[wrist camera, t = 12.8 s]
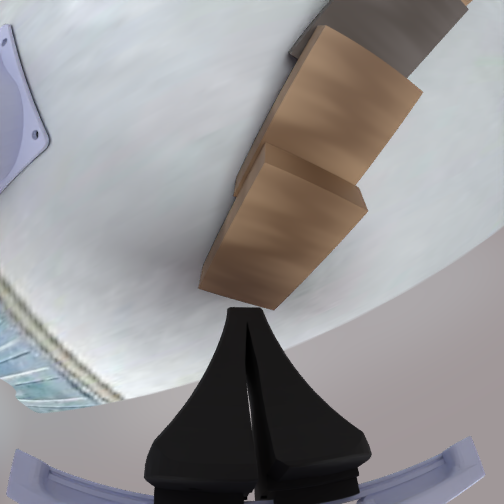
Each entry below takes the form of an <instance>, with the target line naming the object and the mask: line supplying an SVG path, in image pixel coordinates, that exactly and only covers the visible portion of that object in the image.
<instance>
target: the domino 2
mask: <svg viewBox="0 0 504 504" xmlns="http://www.w3.org/2000/svg"><path fill="white" fill-rule="evenodd" d="M367 212H368V209H367V207H366V204H365V202H364V199H363V197H362V194H361V192H360V189H359V187H357V186H355V185H353V184H351V183H349V182H348V181H346V180H344V179H342V178H340V177H338V176H336V175H334V174H332V173H330V172H328V171H326V170H324V169H322V168H320V167H318V166H316V165H314V164H312V163H310V162H308V161H306V160H304V159H302V158H300V157H298V156H295V155H293V154H291V153H289V152H287V151H284V150H282V149H280V148H278V147H275V146H273V145H271V144H269V143H266V142H265V144H264V146H263V148H262V150H261V152H260V154H259V155H258V157H257V159H256V161H255V163H254V165H253V167H252V169H251V171H250V172H249V174H248V176H247V178H246V180H245V182H244V184H243V186H242V188H241V190H240V192H239V194H238V196H237V198H236V199H235V201H234V203H233V205H232V207H231V209H230V211H229V213H228V215H227V217H226V219H225V221H224V223H223V225H222V227H221V229H220V231H219V233H218V235H217V237H216V240H215V242H214V244H213V246H212V248H211V250H210V252H209V254H208V256H207V258H206V260H205V262H204V264H203V268H202V273H201V277H200V282H199V287H198V289H201V290H205V291H208V292H211V293H214V294H218V295H221V296H225V297H228V298H231V299H235V300H238V301H242V302H245V303H249V304H252V305H256V306H260V307H263V308H267V309H271V310H275V309H276V308H277V307H278V306H279V305H280V304H281V303H282V302H283V301H284V300H285V299H286V298H287V297H288V296H289V295H290V294H291V293H292V292H293V291H294V290H295V289H296V288H297V287H298V286H299V285H300V284H301V283H302V282H303V281H304V280H305V279H306V278H307V277H308V276H309V275H310V274H311V273H312V271H313V270H314V269H315V268H316V267H317V266H318V265H319V264H320V263H321V262H322V261H323V260H324V259H325V258H326V257H327V256H328V255H329V254H330V253H331V252H332V250H333V249H334V248H335V247H336V246H337V245H338V244H339V243H340V242H341V241H342V240H343V239H344V238H345V236H346V235H347V234H348V233H349V232H350V231H351V230H352V229H353V228H354V227H355V225H356V224H357V223H358V222H359V221H360V220H361V219H362V218H363V216H364V215H365V214H366V213H367Z"/></svg>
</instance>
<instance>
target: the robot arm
mask: <svg viewBox="0 0 504 504" xmlns="http://www.w3.org/2000/svg"><path fill="white" fill-rule="evenodd" d="M6 41H7V43H6ZM36 131H38V133H39V136H38V138H37V136H36ZM48 144H49V138H48V135H47V133H46V131H45V128H44V126H43V124H42V121H41V119H40V117H39V114H38V112H37V109H36V107H35V104H34V101H33V99H32V96H31V93H30V91H29V88H28V85H27V82H26V79H25V76H24V73H23V70H22V67H21V63H20V60H19V57H18V53H17V49H16V46H15V42H14V38H13V34H12V29H11V26H10V25H9V24H4V25H3V26H2V27H1V28H0V193H1V192H2V191H3V190H4V189H5V188H6V187H7V185H8V184H9V183H10V182H11V181H12V180H13V179H14V178H15V177H16V176H17V175H18V174H19V173H20V172H21V171H22V170H23V169H24V168H25V167H26V166H27V165H28V164H29V163H31V162H32V161H33V160H34V159H35V158H36V157H37V156H38V155H39V154H40V153H41V152H43V151H44V150H45V149H46V148H47V146H48ZM246 383H247V384H246ZM247 389H248V394H247ZM248 395H249V401H250V409H251V420H252V428H251V421H250V412H249V403H248ZM371 455H372V454H371V451H370V447H369V444H368V442H367V440H366V438H365V435H364V433H363V432H362V431H361V430H359V429H358V428H356V427H355V426H353V425H352V424H351V423H349V422H348V421H347V420H345V419H344V418H343V417H342V416H340V415H339V414H338V413H337V412H336V411H335V410H333V409H332V408H331V407H330V406H329V405H328V404H327V403H326V402H325V401H324V400H323V399H322V398H321V397H320V396H319V395H317V393H315V391H313V389H312V388H311V387H310V386H309V385H308V384H307V382H306V381H305V380H304V379H303V377H301V375H300V374H299V373H298V371H297V370H296V369H295V367H294V366H293V364H292V363H291V362H290V360H289V359H288V357H287V356H286V354H285V353H284V351H283V349H282V348H281V346H280V344H279V343H278V341H277V339H276V338H275V336H274V334H273V332H272V330H271V328H270V326H269V324H268V322H267V320H266V317H265V315H264V312H263V310H262V309H261V308H247V307H230V308H228V309H227V317H226V322H225V326H224V329H223V332H222V335H221V338H220V341H219V343H218V346H217V348H216V351H215V353H214V355H213V357H212V359H211V362H210V364H209V366H208V368H207V370H206V371H205V373H204V375H203V377H202V379H201V380H200V382H199V384H198V385H197V387H196V389H195V390H194V392H193V393H192V395H191V396H190V398H189V399H188V401H187V402H186V403H185V405H184V406H183V408H182V409H181V410H180V411H179V413H178V414H177V415H176V416H175V418H174V419H173V420H172V421H171V423H170V424H169V425H168V426H167V427H166V428H165V429H164V430H163V431H162V433H161V434H160V435H159V436H158V437H157V438H156V439H155V440H154V442H153V444H152V446H151V448H150V451H149V453H148V456H147V459H146V463H145V472H144V478H145V480H146V481H147V482H149V483H150V484H151V485H153V486H154V487H155V490H154V496H152V495H146V494H141V493H136V492H131V491H126V490H122V489H118V488H114V487H109V486H106V485H102V484H99V483H95V482H92V481H89V480H86V479H83V478H80V477H77V476H74V475H71V474H68V473H65V472H63V471H60V470H57V469H55V468H53V467H50V466H49V465H48V464H46V463H45V462H43V461H41V460H40V459H38V458H36V457H34V456H31V455H29V454H27V453H25V452H23V451H21V450H19V449H16V451H15V455H14V459H13V463H12V467H11V472H10V477H9V482H8V487H7V493H6V494H7V496H8V497H9V498H11V499H12V500H14V501H16V502H17V503H19V504H342V503H346V502H350V501H353V500H357V499H359V500H358V501H357V504H446V503H448V502H449V501H451V500H452V499H453V498H455V497H456V496H458V495H459V494H460V493H462V492H463V491H465V490H466V489H468V488H469V487H470V486H472V485H473V484H475V483H476V482H477V481H479V480H480V479H481V478H483V477H484V476H485V472H484V469H483V466H482V464H481V461H480V458H479V455H478V453H477V450H476V448H475V445H474V443H473V440H472V438H471V436H468V437H466V438H465V439H463V440H461V441H459V442H457V443H456V444H454V445H452V446H450V447H449V448H447V449H446V450H445V451H443V452H442V453H441V454H438V455H436V456H434V457H432V458H430V459H428V460H426V461H423V462H421V463H419V464H416V465H414V466H412V467H409V468H406V469H404V470H401V471H399V472H396V473H393V474H390V475H387V476H384V477H382V478H379V479H375V480H372V481H369V482H365V483H362V484H358V482H357V476H359V471H358V467H359V466H360V465H362V464H363V463H365V462H366V461H367V460H369V459H370V457H371ZM253 489H255V501H246V502H245V501H244V500H247V496H248V494H249V493H251V492H252V491H253Z"/></svg>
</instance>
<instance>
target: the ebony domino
mask: <svg viewBox="0 0 504 504" xmlns="http://www.w3.org/2000/svg"><path fill="white" fill-rule="evenodd" d="M468 10H469V9H468V8H467V7H466V6H465V4H464V3H463V2H462V1H461V0H330V1H329V2H328V3H327V5H326V6H325V7H324V8H323V9H322V10H321V12H320V13H319V14H318V15H317V16H316V18H315V19H314V20H313V21H312V23H311V24H310V25H309V26H308V28H307V29H306V30H305V31H304V33H303V34H302V35H301V36H300V38H299V39H298V40H297V42H296V43H295V44H294V45H293V47H292V48H291V49H290V51H289V53H290V55H292V56H294V57H295V58H297V59H299V57H300V55H301V54H302V52H303V50H304V48H305V47H306V45H307V43H308V42H309V40H310V38H311V36H312V35H313V33H314V31H315V30H316V28H317V26H320V25H326V26H328V27H330V28H332V29H334V30H336V31H337V32H339V33H341V34H343V35H344V36H346V37H348V38H349V39H351V40H353V41H354V42H356V43H358V44H359V45H361V46H362V47H364V48H365V49H367V50H368V51H370V52H371V53H373V54H374V55H376V56H377V57H379V58H380V59H382V60H383V61H384V62H386V63H387V64H389V65H390V66H391V67H393V68H394V69H395V70H397V71H398V72H399V73H400V74H402V75H403V76H404V77H406V78H408V76H409V75H410V74H411V73H412V72H413V71H414V70H415V69H416V68H417V66H418V65H419V64H420V63H421V62H422V61H423V60H424V59H425V57H426V56H427V55H428V54H429V53H430V52H431V51H432V50H433V49H434V47H435V46H436V45H437V44H438V43H439V42H440V41H441V40H442V39H443V37H444V36H445V35H446V34H447V33H448V32H449V31H450V30H451V28H452V27H453V26H454V25H455V24H456V23H457V22H458V21H459V20H460V18H461V17H462V16H463V15H464V14H465V13H466V12H467V11H468Z"/></svg>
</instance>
